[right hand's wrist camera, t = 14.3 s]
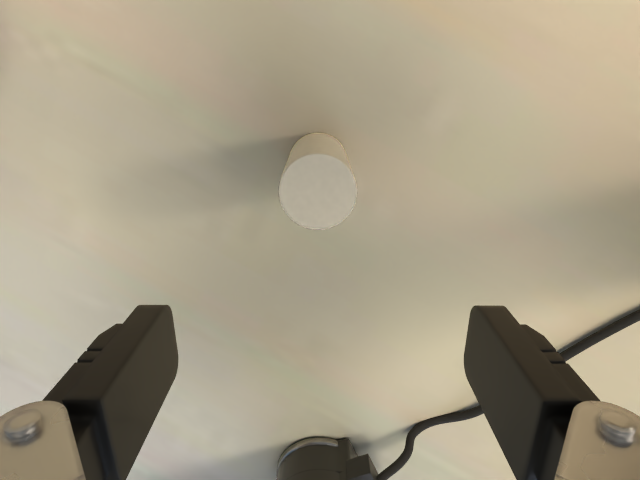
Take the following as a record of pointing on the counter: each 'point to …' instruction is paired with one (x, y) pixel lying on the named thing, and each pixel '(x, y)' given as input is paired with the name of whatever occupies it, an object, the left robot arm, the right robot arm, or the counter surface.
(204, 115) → the counter surface
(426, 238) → the counter surface
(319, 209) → the canister
